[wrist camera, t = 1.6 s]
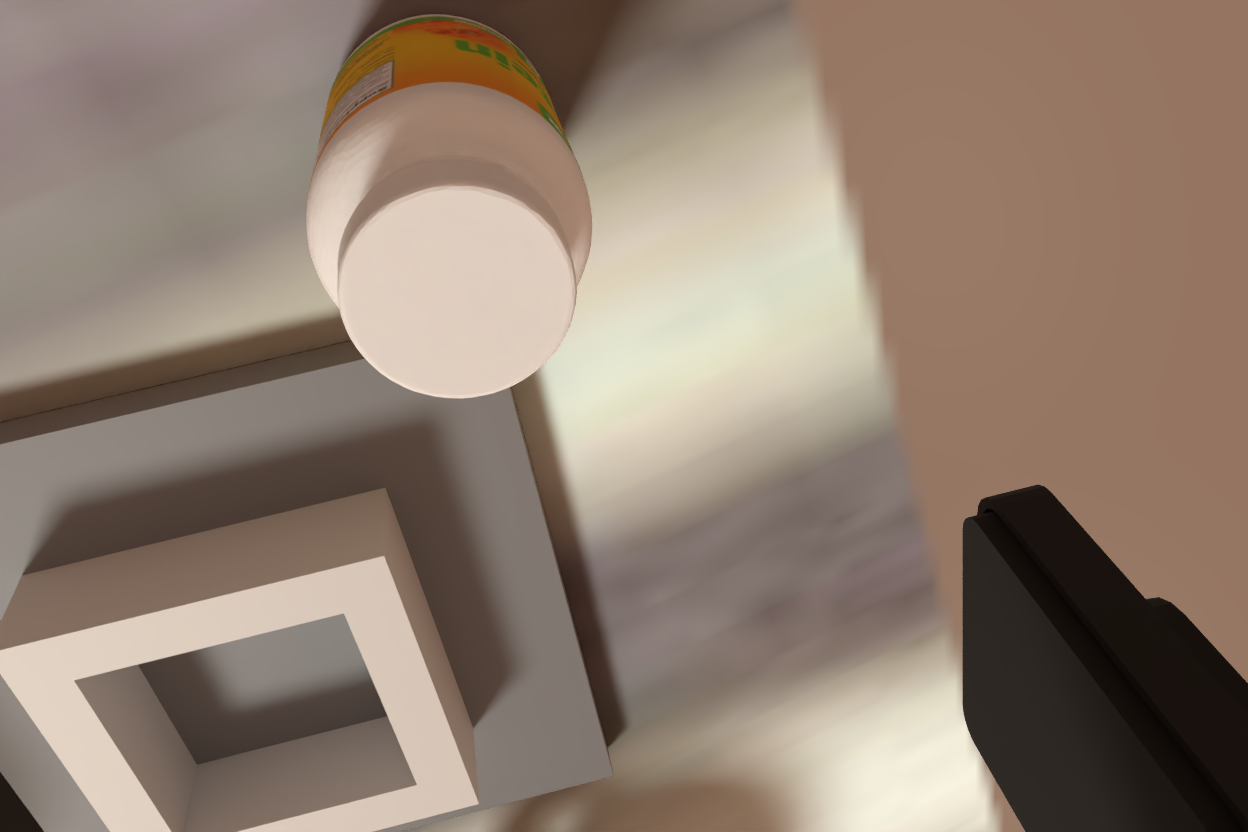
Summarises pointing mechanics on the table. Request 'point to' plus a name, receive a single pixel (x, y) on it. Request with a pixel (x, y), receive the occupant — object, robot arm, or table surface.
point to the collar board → (283, 608)
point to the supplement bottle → (447, 208)
